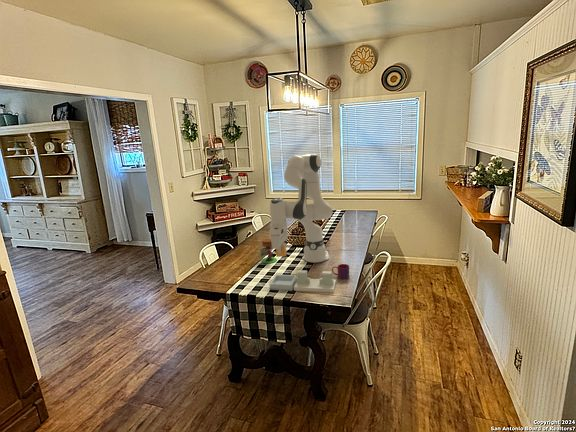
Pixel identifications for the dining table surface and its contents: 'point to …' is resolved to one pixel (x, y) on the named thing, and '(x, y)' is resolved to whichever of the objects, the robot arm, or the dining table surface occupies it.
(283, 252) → the orange fuse
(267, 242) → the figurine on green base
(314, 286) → the fuse holder
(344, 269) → the mug
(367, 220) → the dining table surface
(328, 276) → the green fuse
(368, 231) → the dining table surface
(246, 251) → the dining table surface
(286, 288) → the tray
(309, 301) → the dining table surface
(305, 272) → the green fuse
